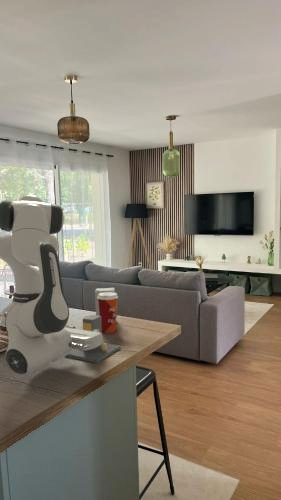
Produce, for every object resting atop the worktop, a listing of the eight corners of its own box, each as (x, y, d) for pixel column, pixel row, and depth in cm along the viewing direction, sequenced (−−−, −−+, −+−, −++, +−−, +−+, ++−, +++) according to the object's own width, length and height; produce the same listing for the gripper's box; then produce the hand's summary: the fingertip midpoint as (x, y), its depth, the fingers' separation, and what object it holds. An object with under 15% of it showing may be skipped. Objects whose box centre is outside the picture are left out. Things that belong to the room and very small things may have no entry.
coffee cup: (115, 334, 141) (114, 296, 140) (95, 333, 143) (94, 295, 141) (121, 328, 149) (120, 292, 148) (101, 327, 151) (101, 291, 150)
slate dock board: (64, 356, 120) (63, 345, 120) (89, 342, 132) (89, 333, 132) (97, 363, 114) (96, 352, 113) (120, 348, 126) (120, 338, 126)
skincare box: (116, 320, 160) (116, 287, 159) (115, 324, 154) (114, 290, 153) (97, 320, 160) (96, 287, 159) (95, 324, 154) (94, 290, 153)
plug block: (82, 351, 121) (81, 318, 120) (92, 346, 126) (91, 314, 125) (92, 353, 119) (91, 320, 118) (101, 347, 124) (101, 316, 123)
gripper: (86, 337, 101) (112, 324, 113) (30, 328, 110) (60, 317, 122) (86, 359, 101) (113, 344, 113) (31, 348, 111) (61, 335, 123)
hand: (85, 330), depth 118 cm, fingers open, 8 cm apart
